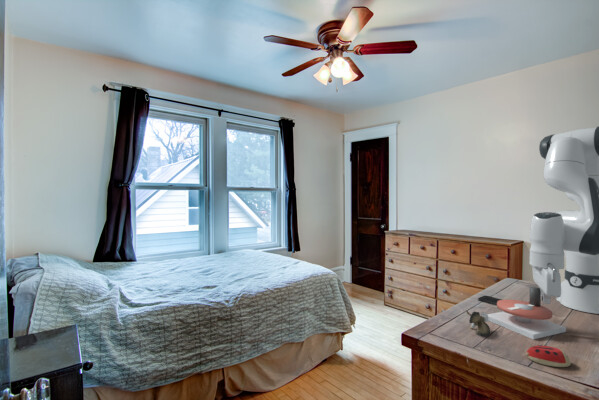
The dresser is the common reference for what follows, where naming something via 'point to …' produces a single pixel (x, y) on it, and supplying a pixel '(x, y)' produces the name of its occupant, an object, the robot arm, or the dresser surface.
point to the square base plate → (526, 325)
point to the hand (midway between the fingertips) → (545, 302)
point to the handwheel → (526, 307)
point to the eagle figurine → (480, 323)
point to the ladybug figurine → (548, 356)
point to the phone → (489, 300)
